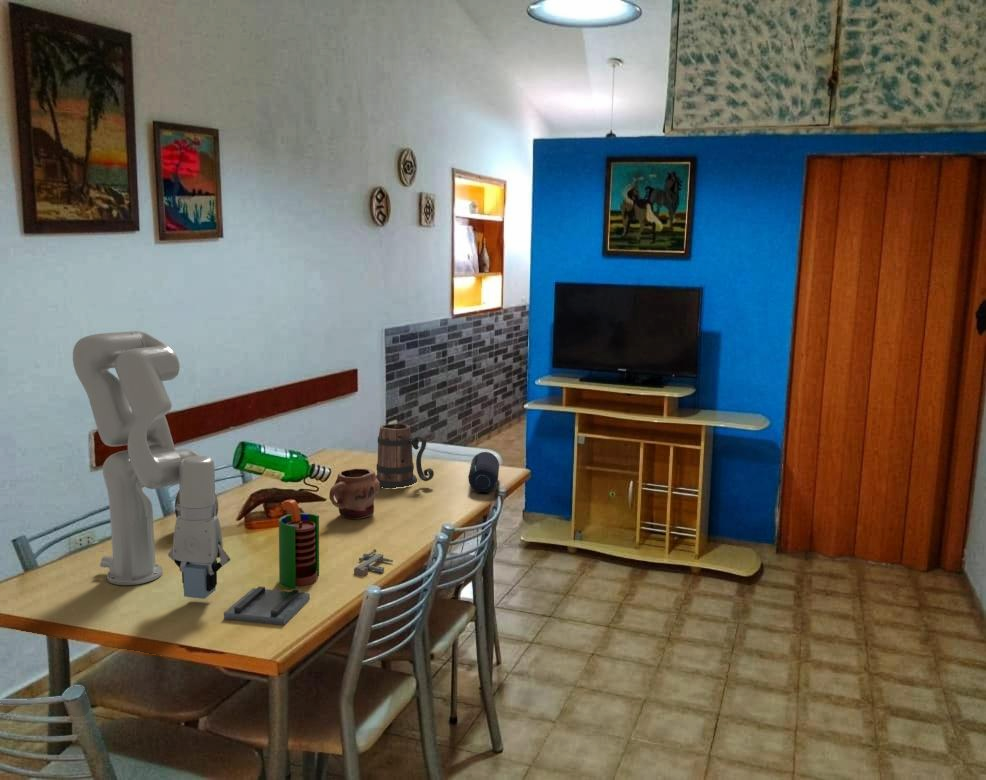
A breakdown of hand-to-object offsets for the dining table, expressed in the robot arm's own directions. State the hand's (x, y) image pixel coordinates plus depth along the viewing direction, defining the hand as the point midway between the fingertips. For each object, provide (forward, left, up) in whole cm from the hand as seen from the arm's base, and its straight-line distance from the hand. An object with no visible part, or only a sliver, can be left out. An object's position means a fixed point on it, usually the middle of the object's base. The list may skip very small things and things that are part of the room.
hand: (199, 587), depth 194 cm
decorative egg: (-26, +46, -4) cm, 53 cm away
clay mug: (+13, +68, -4) cm, 69 cm away
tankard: (+17, +107, -4) cm, 108 cm away
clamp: (+31, +31, -4) cm, 44 cm away
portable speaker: (+44, +111, -4) cm, 119 cm away
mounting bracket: (+17, 0, -4) cm, 17 cm away
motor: (+17, +17, -4) cm, 24 cm away
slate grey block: (0, 0, -2) cm, 2 cm away
